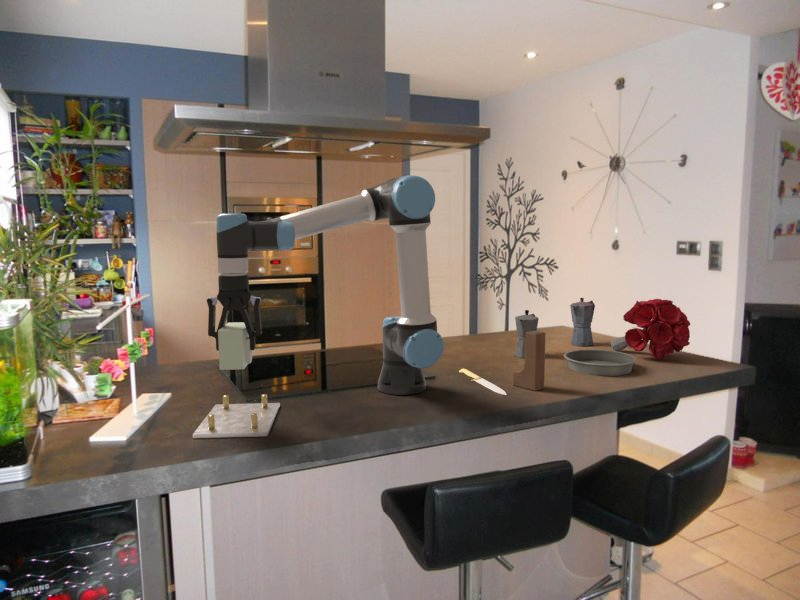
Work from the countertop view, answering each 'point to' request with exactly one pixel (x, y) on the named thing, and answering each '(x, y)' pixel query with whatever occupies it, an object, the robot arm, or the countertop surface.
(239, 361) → the pale green rectangular block
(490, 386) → the knife
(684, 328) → the bouquet
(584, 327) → the moka pot
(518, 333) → the coffeepot
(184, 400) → the countertop surface
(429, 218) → the robot arm
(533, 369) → the wooden block
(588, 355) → the cake pan
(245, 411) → the chassis plate
